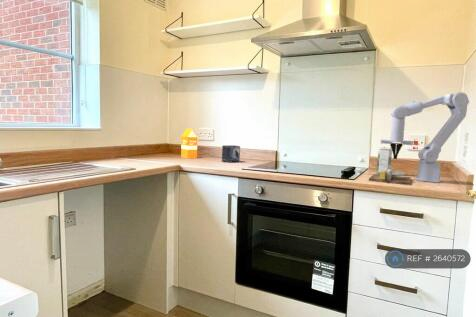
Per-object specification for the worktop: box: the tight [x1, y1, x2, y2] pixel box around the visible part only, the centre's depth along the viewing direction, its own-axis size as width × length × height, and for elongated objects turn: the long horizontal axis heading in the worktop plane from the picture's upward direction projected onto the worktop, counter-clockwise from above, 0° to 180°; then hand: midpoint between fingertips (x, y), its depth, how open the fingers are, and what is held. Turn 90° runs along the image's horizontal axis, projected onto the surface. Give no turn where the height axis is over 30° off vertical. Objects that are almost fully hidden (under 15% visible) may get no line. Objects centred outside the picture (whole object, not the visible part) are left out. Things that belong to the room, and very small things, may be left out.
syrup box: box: [375, 146, 393, 174], centre depth 177 cm, size 6×6×14 cm
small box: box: [221, 144, 241, 163], centre depth 209 cm, size 11×6×10 cm, turn 131°
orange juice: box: [180, 128, 198, 159], centre depth 225 cm, size 8×9×20 cm
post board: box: [368, 171, 412, 186], centre depth 156 cm, size 17×20×5 cm
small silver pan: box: [376, 168, 406, 179], centre depth 154 cm, size 16×12×4 cm
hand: (395, 158), depth 161 cm, fingers closed
